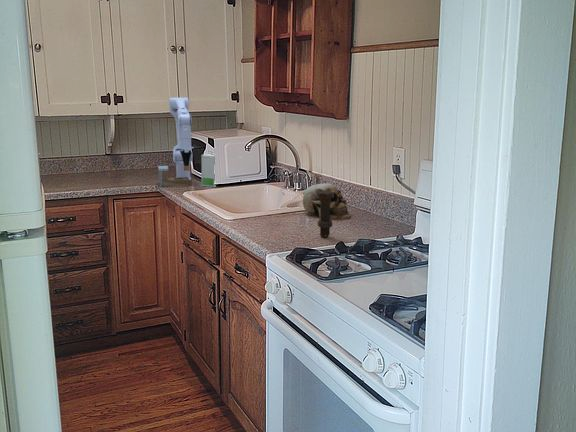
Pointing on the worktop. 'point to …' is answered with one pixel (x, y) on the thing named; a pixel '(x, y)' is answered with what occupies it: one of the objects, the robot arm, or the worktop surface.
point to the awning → (160, 169)
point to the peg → (186, 167)
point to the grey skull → (336, 205)
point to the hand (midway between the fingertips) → (186, 165)
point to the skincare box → (208, 170)
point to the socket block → (175, 181)
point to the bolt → (325, 212)
